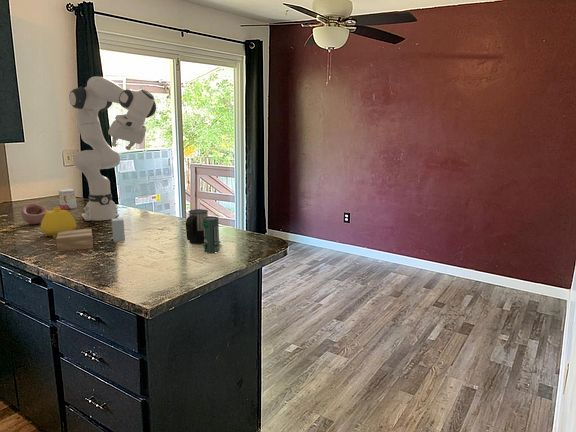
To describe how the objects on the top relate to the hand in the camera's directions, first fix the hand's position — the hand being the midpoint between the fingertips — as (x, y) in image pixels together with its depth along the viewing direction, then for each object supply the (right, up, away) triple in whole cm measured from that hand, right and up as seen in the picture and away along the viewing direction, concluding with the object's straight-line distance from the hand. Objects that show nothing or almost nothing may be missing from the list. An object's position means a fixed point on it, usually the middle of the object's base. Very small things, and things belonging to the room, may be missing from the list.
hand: (120, 147), depth 211 cm
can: (+48, -49, -20) cm, 71 cm away
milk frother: (+42, -46, -7) cm, 63 cm away
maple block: (-15, -47, -13) cm, 51 cm away
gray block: (+1, -44, -4) cm, 45 cm away
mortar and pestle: (-56, -38, +25) cm, 71 cm away
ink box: (-58, -28, +65) cm, 91 cm away
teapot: (-33, -42, +5) cm, 54 cm away
